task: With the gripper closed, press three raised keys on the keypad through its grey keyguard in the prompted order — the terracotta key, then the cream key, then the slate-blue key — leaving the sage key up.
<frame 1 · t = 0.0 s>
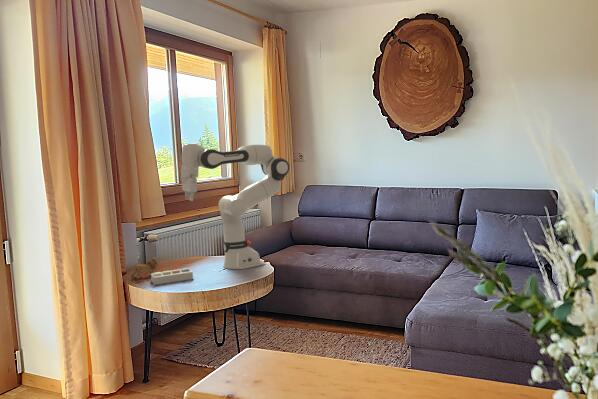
hand: (189, 200, 269), 39 cm above the table, tool pointing down, fingers open, 8 cm apart
key cream: (157, 275, 255), point 4 cm above the table, slide at 0.0 cm
key slate: (185, 271, 261), point 4 cm above the table, slide at 0.0 cm
lion figurine: (146, 276, 272), on the table
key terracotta: (176, 272, 259), point 4 cm above the table, slide at 0.0 cm
keypad: (172, 280, 258), on the table
key sage: (167, 274, 257), point 4 cm above the table, slide at 0.0 cm
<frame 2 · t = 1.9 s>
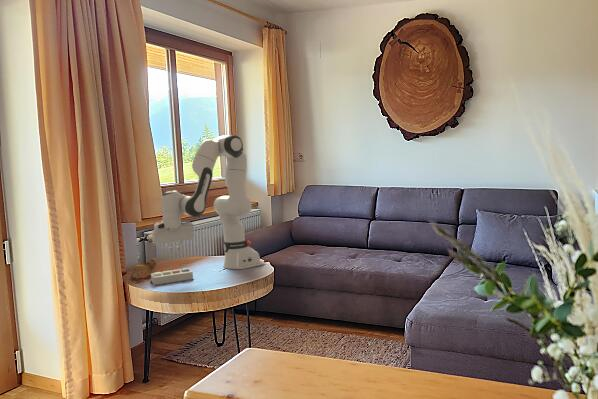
hand: (174, 250, 258), 15 cm above the table, tool pointing down, fingers open, 3 cm apart
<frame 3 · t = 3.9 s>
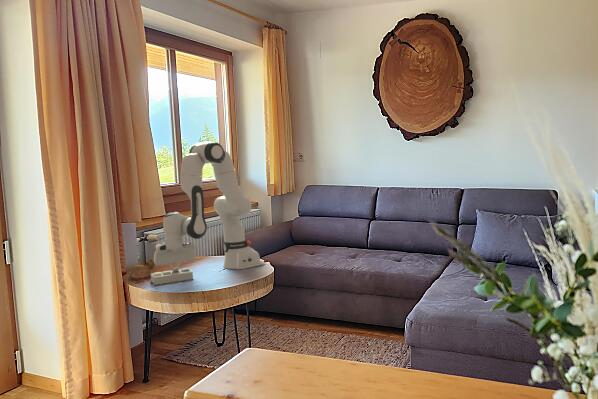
hand: (175, 271, 259), 4 cm above the table, tool pointing down, fingers closed
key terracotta: (176, 274, 259), point 3 cm above the table, slide at 0.7 cm, touching gripper
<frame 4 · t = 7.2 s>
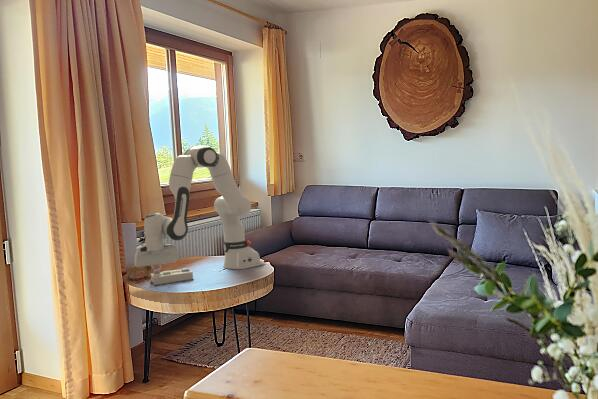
hand: (157, 273, 255), 5 cm above the table, tool pointing down, fingers closed, pressing on key cream
key cream: (157, 276, 255), point 3 cm above the table, slide at 0.2 cm, touching gripper
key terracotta: (176, 275, 259), point 2 cm above the table, slide at 1.3 cm
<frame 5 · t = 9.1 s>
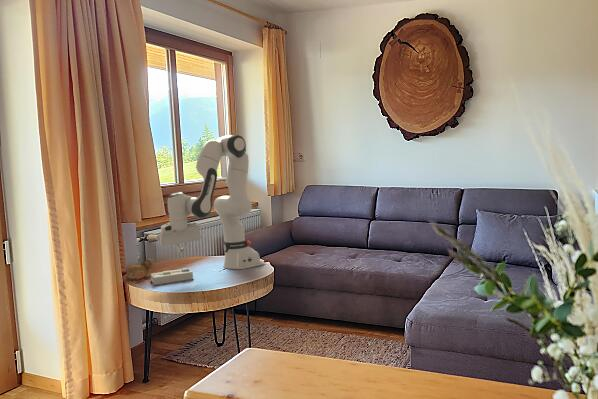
hand: (181, 251, 260), 14 cm above the table, tool pointing down, fingers closed
key cream: (157, 278, 255), point 2 cm above the table, slide at 1.3 cm
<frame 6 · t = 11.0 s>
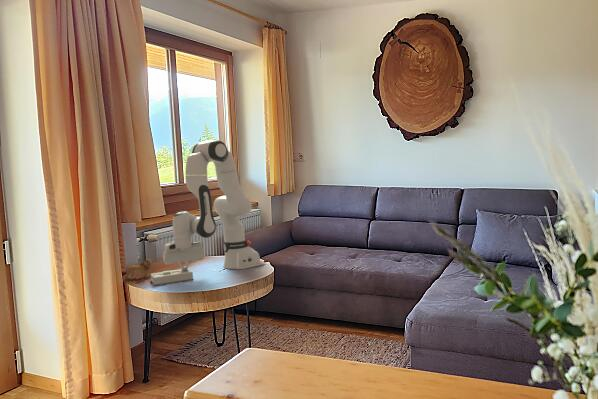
hand: (184, 270, 261), 4 cm above the table, tool pointing down, fingers closed, pressing on key slate
key slate: (185, 273, 261), point 3 cm above the table, slide at 0.9 cm, touching gripper
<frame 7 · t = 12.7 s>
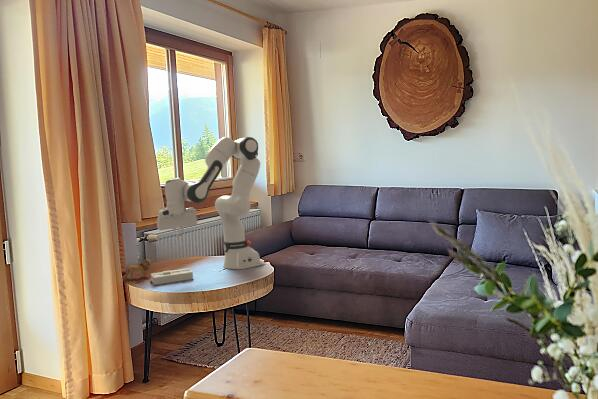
hand: (178, 236, 265), 21 cm above the table, tool pointing down, fingers closed
key slate: (185, 274, 261), point 2 cm above the table, slide at 1.3 cm
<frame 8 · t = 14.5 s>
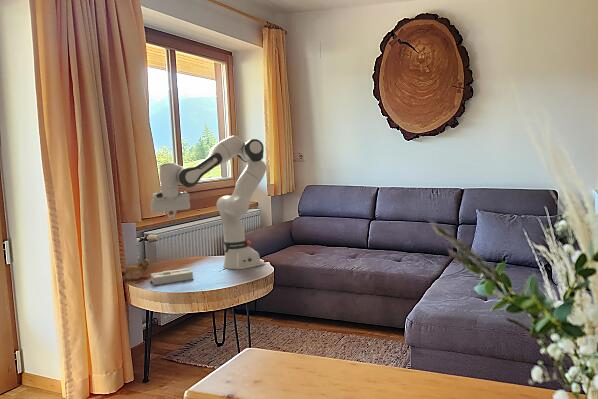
hand: (171, 219, 271), 29 cm above the table, tool pointing down, fingers closed
at the end: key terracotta slide at 1.3 cm; key cream slide at 1.3 cm; key slate slide at 1.3 cm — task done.
